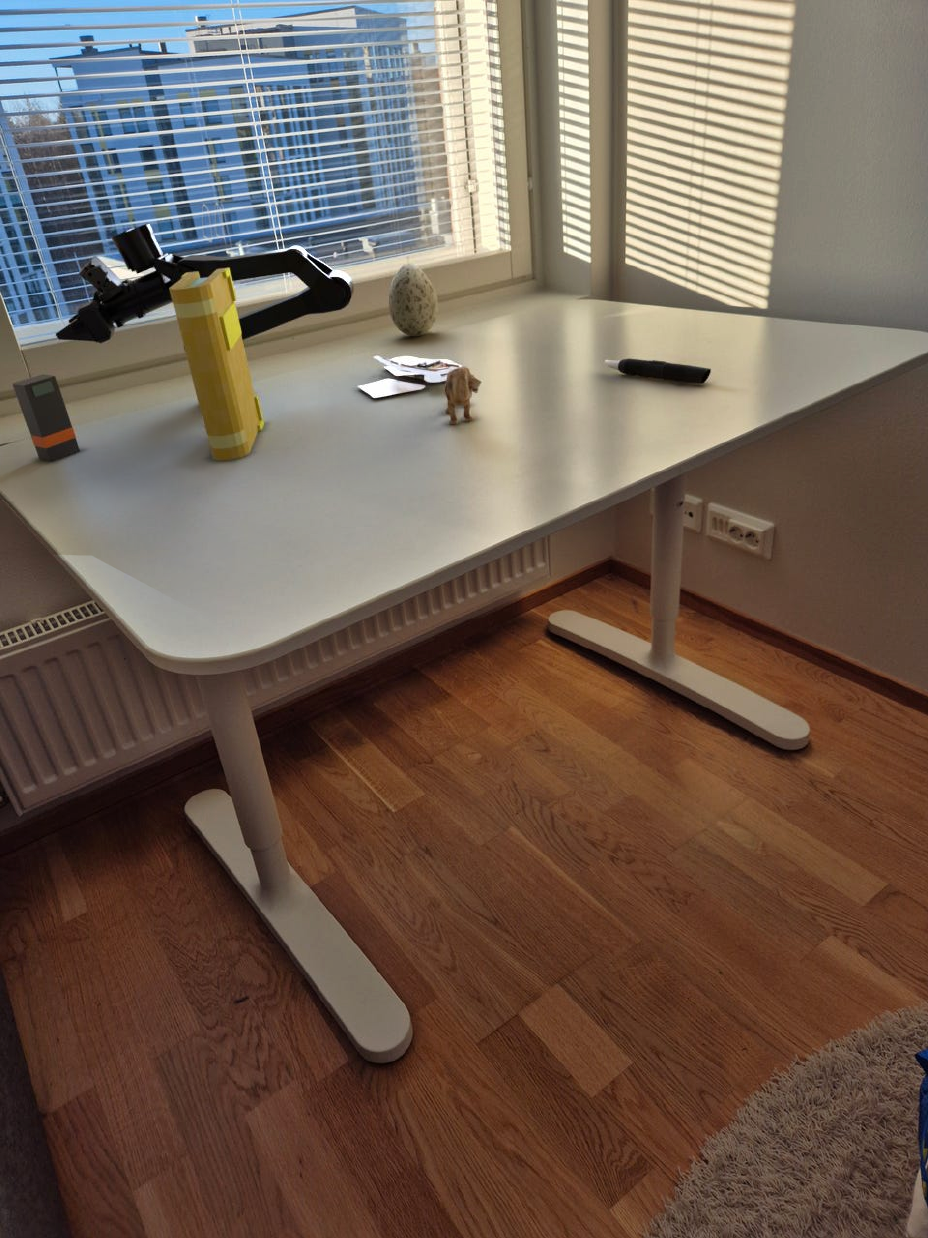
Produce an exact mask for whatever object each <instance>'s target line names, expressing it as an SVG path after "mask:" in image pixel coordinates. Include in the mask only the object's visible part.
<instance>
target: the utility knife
mask: <svg viewBox="0 0 928 1238" xmlns="http://www.w3.org/2000/svg"><path fill="white" fill-rule="evenodd" d="M604 365H605V366H606V367H607V368H610V369H613V370H616V371H619V373H621V374H624V375H626V376H632V377H640V378H646V379H656V380H663V381H670V382H676V383H677V382H678V383H686V384H696V385H697V384H698V385H703V384H704V383H705V382H706V381H708V379H709V377H710V375H711V372H712V369H711V368H709V367H701V366H696V365H690V364H682V363H681V364H680V363H673V362H667V361H665V360H656V359H653V360H651V359H649V360H647V359H639V358H629V357H628V358H623V359H621V360H609V359H606V360H605V361H604Z"/></svg>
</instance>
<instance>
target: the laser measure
mask: <svg viewBox="0 0 928 1238" xmlns="http://www.w3.org/2000/svg"><path fill="white" fill-rule="evenodd" d="M12 387H13V389H14V390H13V391H14V393H15V396H16V398H17V401H18V404H19V407H20V409H21V412H22V415H23V419H24V420H25V424H26V427H27V430H28V432H29V435H30V438H31V442H32V444H33V446H34V448H35V451H36V453H37V457H38V459H39V460H42V461H47V462H51V463H52V462H55V461H57V460H59V459H63V458H65V457H69V456H71V455H73V454H76V453H79V452H80V451H81V449H80V446H79V444H78V440H77V436H76V433H75V430H74V427H73V425H72V422H71V419H70V416H69V413H68V410H67V407H66V404H65V401H64V398H63V395H62V392H61V389H60V387H59V384H58V380H57V377H56V375H51V374H44V373H43V374H39V375H36V376H33V377H30V378H26V379H22V380H18V381H16V382H13V383H12Z"/></svg>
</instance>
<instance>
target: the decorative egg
mask: <svg viewBox="0 0 928 1238" xmlns="http://www.w3.org/2000/svg"><path fill="white" fill-rule="evenodd" d="M388 290H389V291H388V298H387V299H388V300H387V301H388V302H387V304H388V311H389V315H390V318H391V320H392V322H393V324H394V325H395V327H397V329H398V330H399V331H401V332H402V333H403V334H405V335H407V336H411V337H419V336H423V335H425V334H426V333H428V332H429V331H430V330H431V329H432V328H433V326H434V325H435V323H436V321H437V318H438V312H439V303H438V297H437V293H436V290H435V287H434V286H433V284H432V282H431V280H430V279H429V277H428V276H427V275H426V273H425V272H424V271H423V269H421V268H420V267H419V266H417V265H415V264H413V263H405V264H403V265H402V266H400V268H399V269H398V270H397V272H396V273H395V274H394V276H393V278H392V280H391V283H390V286H389V289H388Z"/></svg>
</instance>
